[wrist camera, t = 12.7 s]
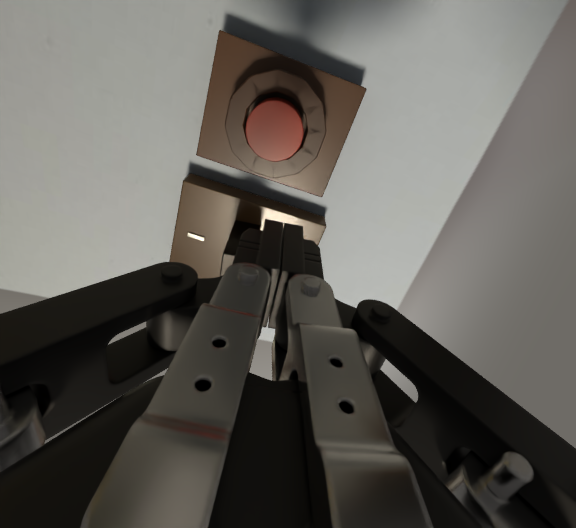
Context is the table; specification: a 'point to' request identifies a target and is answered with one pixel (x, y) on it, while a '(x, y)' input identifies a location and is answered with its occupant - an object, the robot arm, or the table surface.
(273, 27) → the table surface
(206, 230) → the plate
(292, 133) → the button
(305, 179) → the block
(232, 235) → the thumbturn
